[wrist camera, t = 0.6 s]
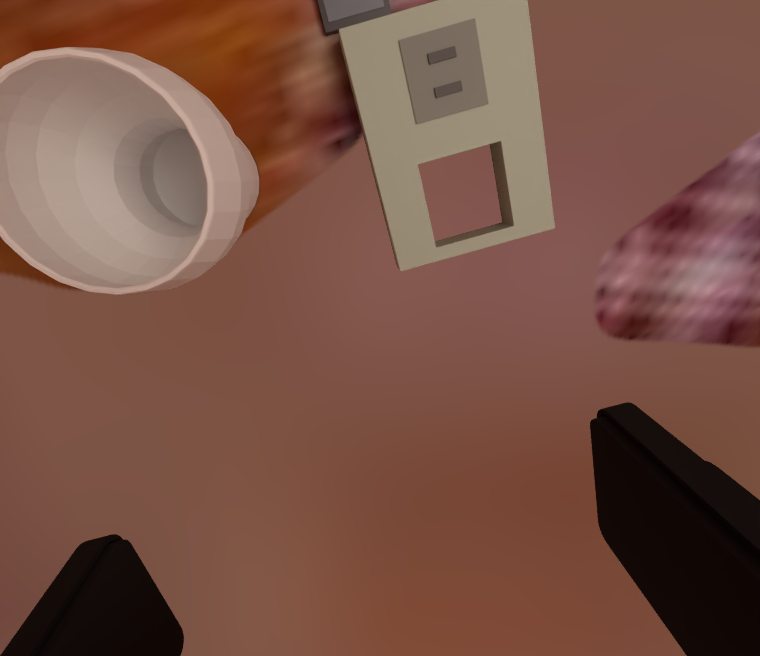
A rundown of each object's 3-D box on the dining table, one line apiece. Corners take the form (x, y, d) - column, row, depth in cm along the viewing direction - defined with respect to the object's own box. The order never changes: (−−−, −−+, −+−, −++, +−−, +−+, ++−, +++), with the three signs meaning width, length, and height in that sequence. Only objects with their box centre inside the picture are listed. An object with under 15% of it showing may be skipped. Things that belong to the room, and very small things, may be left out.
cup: (193, 276, 34) (84, 349, 20) (96, 150, 30) (-118, 128, 16) (307, 206, 33) (278, 229, 19) (220, 66, 29) (105, -35, 15)
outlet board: (339, 40, 29) (338, 27, 27) (509, -9, 29) (526, -28, 27) (396, 264, 35) (400, 272, 32) (540, 224, 35) (556, 228, 32)
